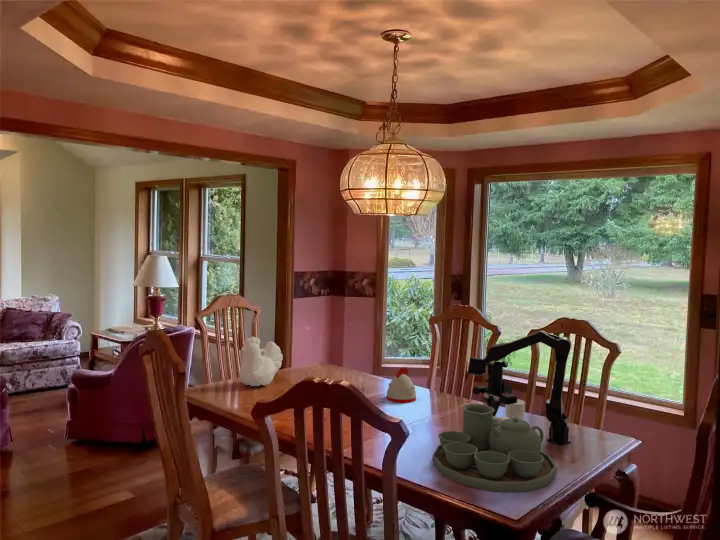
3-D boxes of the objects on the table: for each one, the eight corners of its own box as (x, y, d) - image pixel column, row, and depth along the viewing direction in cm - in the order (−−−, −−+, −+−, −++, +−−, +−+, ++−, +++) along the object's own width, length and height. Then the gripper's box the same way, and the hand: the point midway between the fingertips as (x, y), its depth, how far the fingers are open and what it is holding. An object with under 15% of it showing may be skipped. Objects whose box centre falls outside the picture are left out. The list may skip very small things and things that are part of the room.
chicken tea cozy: (422, 399, 279) (423, 368, 278) (401, 404, 270) (402, 372, 269) (400, 393, 290) (401, 362, 289) (380, 398, 280) (381, 366, 280)
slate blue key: (500, 425, 235) (501, 418, 234) (493, 427, 232) (493, 419, 232) (493, 422, 238) (493, 415, 238) (486, 424, 236) (486, 416, 235)
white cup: (502, 426, 243) (503, 402, 242) (507, 421, 250) (508, 397, 249) (521, 429, 239) (522, 405, 238) (526, 424, 246) (527, 400, 245)
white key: (512, 426, 230) (512, 419, 229) (504, 428, 227) (505, 420, 227) (504, 424, 233) (504, 416, 233) (497, 425, 231) (497, 418, 231)
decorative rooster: (246, 391, 286) (247, 340, 284) (233, 384, 298) (233, 335, 297) (292, 385, 300) (293, 336, 299) (277, 378, 313) (278, 331, 312)
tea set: (409, 466, 199) (410, 418, 198) (477, 439, 227) (479, 396, 226) (514, 507, 171) (517, 450, 170) (577, 470, 199) (580, 422, 198)
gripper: (527, 379, 231) (526, 419, 232) (492, 370, 246) (490, 407, 247) (507, 383, 224) (506, 423, 225) (472, 373, 240) (471, 411, 241)
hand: (493, 416), depth 235 cm, fingers closed
